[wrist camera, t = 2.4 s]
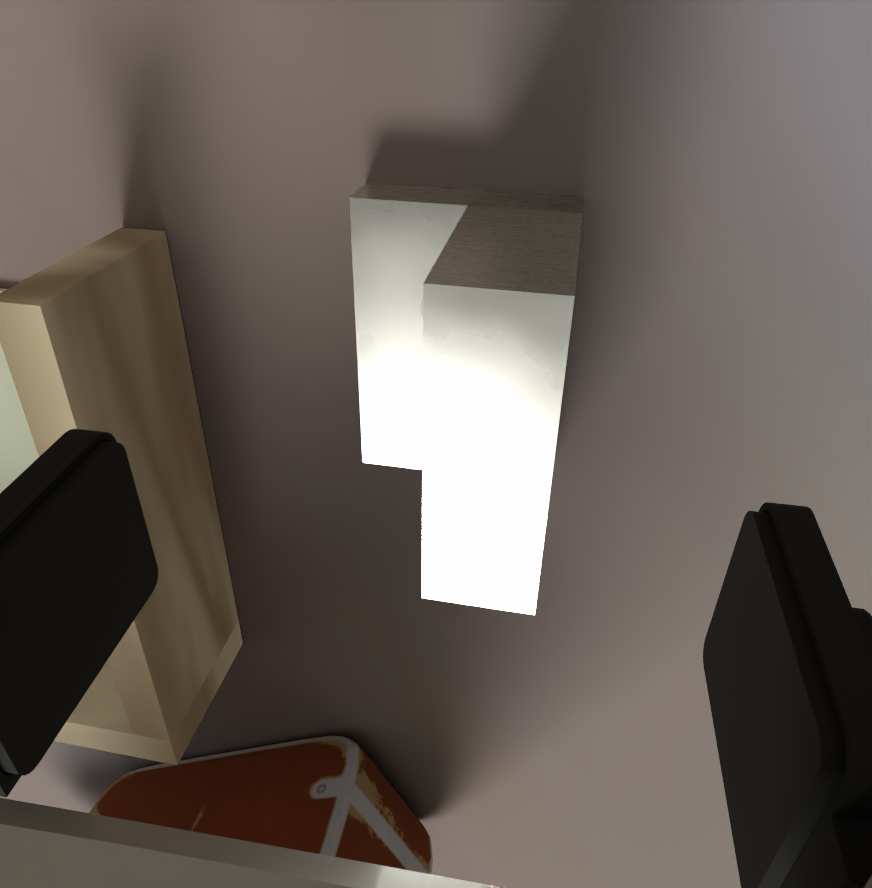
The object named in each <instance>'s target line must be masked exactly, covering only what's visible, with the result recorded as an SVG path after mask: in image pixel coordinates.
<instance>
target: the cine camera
mask: <svg viewBox="0 0 872 888" xmlns="http://www.w3.org/2000/svg"><path fill="white" fill-rule="evenodd" d="M90 814H96V815H102V816H107V817H113V818H119V819H125V820H130V821H136V822H142V823H148V824H153V825H159V826H165V827H170V828H176V829H181V830H187V831H193V832H198V833H204V834H210V835H215V836H221V837H226V838H232V839H238V840H243V841H249V842H254V843H260V844H266V845H271V846H277V847H282V848H288V849H293V850H299V851H305V852H310V853H316V854H321V855H327V856H332V857H338V858H344V859H349V860H355V861H360V862H366V863H371V864H377V865H382V866H388V867H393V868H399V869H404V870H409V871H415V872H420V873H426V874H431V871H432V863H433V860H432V848H431V841H430V837H429V835H428V833H427V831H426V829H425V827H424V826H423V825H422V823H421V822H420V821H419V820H418V818H417V817H416V816H415V815H414V813H413V812H412V811H411V810H410V808H409V807H408V806H407V805H406V803H405V802H404V801H403V800H402V798H401V797H400V796H399V794H398V793H397V792H396V791H395V789H394V788H393V787H392V786H391V784H390V783H389V782H388V781H387V779H386V778H385V777H384V776H383V774H382V773H381V772H380V771H379V769H378V768H377V767H376V766H375V764H374V763H373V762H372V760H371V759H370V758H369V757H368V756H367V755H366V753H365V752H364V751H363V750H362V749H361V748H360V747H359V745H358V744H356V743H355V742H353V741H352V740H350V739H349V738H346V737H343V736H325V737H317V738H310V739H303V740H297V741H291V742H285V743H279V744H274V745H268V746H262V747H256V748H250V749H245V750H239V751H233V752H227V753H221V754H216V755H210V756H204V757H198V758H192V759H187V760H181V761H180V762H179V763H178V765H173V764H168V763H163V764H158V765H153V766H149V767H144V768H139V769H136V770H134V771H131V772H129V773H127V774H125V775H124V776H122V777H121V778H119V779H118V780H116V781H115V782H113V783H112V784H111V785H110V786H109V787H108V788H107V789H106V790H105V792H104V793H103V794H102V796H101V797H100V798H99V799H98V801H97V802H96V804H95V805H94V807H93V808H92V810H91V811H90Z"/></svg>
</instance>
